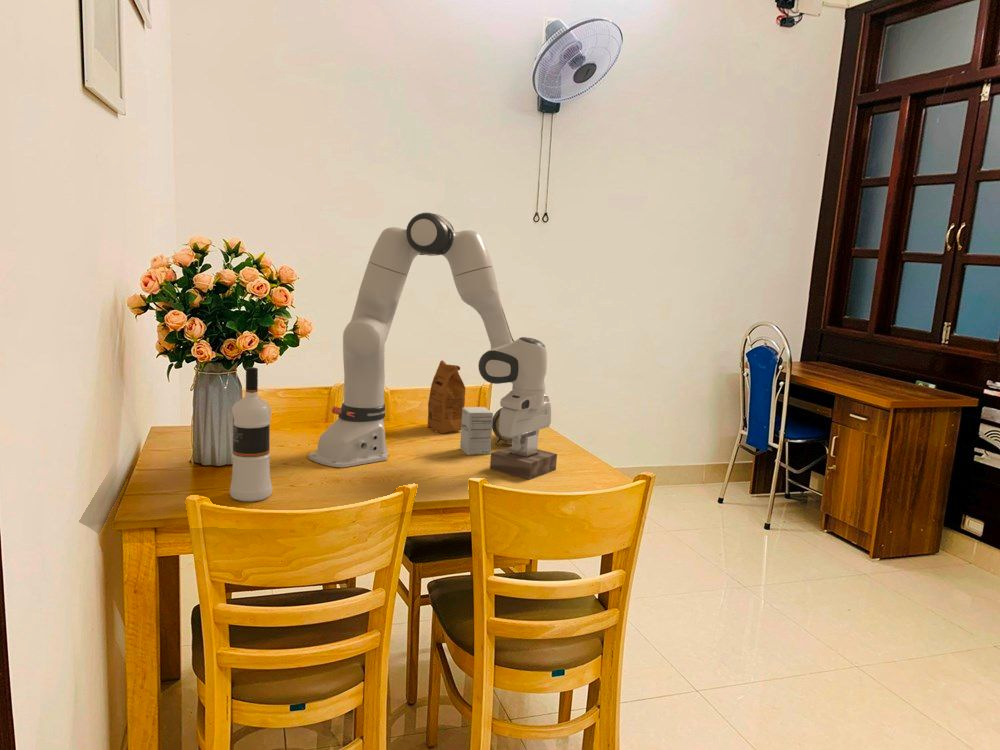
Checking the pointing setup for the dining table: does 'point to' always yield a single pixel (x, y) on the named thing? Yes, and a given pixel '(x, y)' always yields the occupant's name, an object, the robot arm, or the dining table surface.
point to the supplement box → (476, 430)
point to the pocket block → (523, 463)
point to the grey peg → (527, 445)
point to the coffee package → (446, 399)
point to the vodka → (251, 444)
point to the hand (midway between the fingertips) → (524, 447)
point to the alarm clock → (496, 428)
